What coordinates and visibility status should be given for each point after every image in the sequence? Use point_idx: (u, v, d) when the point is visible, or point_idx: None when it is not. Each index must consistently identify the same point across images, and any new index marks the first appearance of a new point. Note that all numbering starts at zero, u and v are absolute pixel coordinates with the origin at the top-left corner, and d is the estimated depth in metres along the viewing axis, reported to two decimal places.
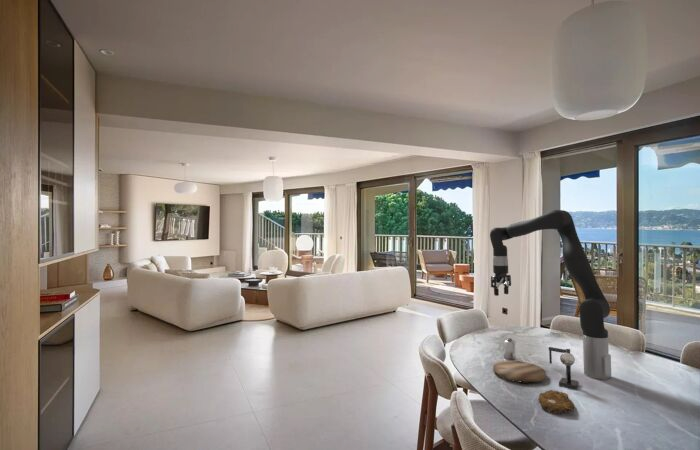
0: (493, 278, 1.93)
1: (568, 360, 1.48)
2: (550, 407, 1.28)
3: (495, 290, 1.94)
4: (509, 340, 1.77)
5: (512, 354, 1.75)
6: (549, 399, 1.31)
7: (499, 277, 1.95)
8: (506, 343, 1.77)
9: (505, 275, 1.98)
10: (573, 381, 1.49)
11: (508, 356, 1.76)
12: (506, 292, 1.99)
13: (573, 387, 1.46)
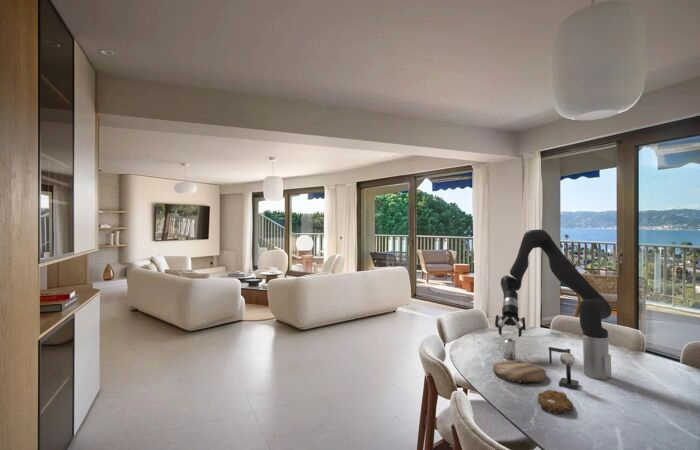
0: None
1: (568, 360, 1.48)
2: (549, 407, 1.28)
3: None
4: (509, 340, 1.77)
5: (512, 354, 1.75)
6: (548, 399, 1.31)
7: (504, 317, 1.91)
8: (506, 343, 1.77)
9: (515, 316, 1.89)
10: (573, 381, 1.49)
11: (508, 356, 1.76)
12: (518, 334, 1.83)
13: (573, 387, 1.46)
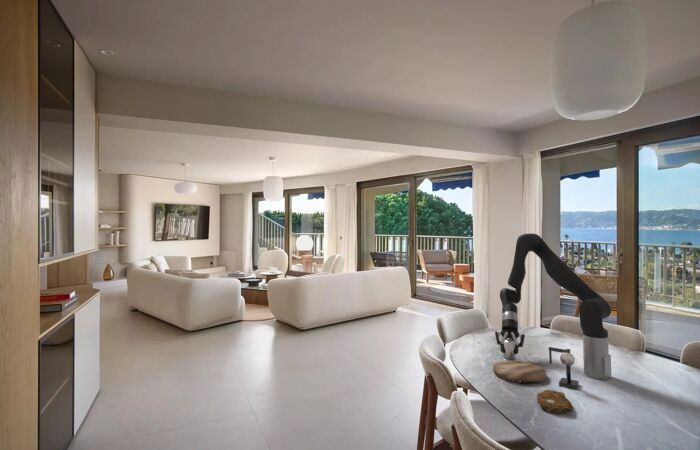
0: (495, 334, 1.85)
1: (568, 360, 1.48)
2: (549, 407, 1.28)
3: None
4: (509, 340, 1.77)
5: (512, 354, 1.75)
6: (548, 399, 1.31)
7: (503, 332, 1.83)
8: (506, 343, 1.77)
9: (515, 331, 1.82)
10: (573, 381, 1.49)
11: (508, 356, 1.76)
12: (515, 351, 1.76)
13: (573, 387, 1.46)
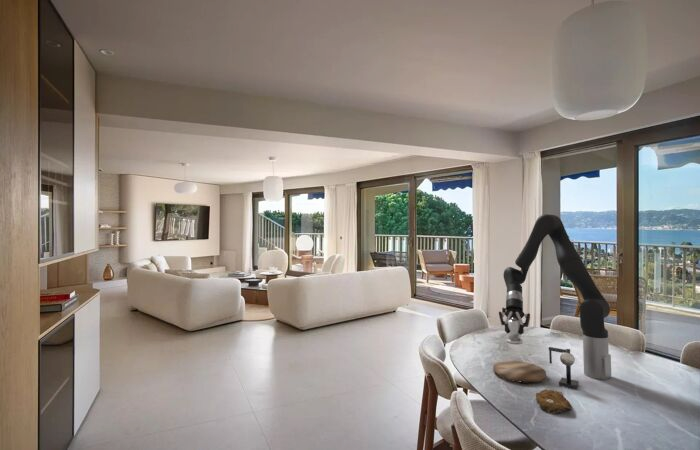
0: (499, 314, 1.76)
1: (568, 360, 1.48)
2: (549, 407, 1.28)
3: (505, 326, 1.71)
4: (513, 319, 1.68)
5: (517, 334, 1.66)
6: (547, 399, 1.31)
7: (507, 312, 1.74)
8: (510, 323, 1.68)
9: (520, 311, 1.73)
10: (573, 381, 1.49)
11: (513, 336, 1.67)
12: (520, 331, 1.67)
13: (573, 387, 1.46)
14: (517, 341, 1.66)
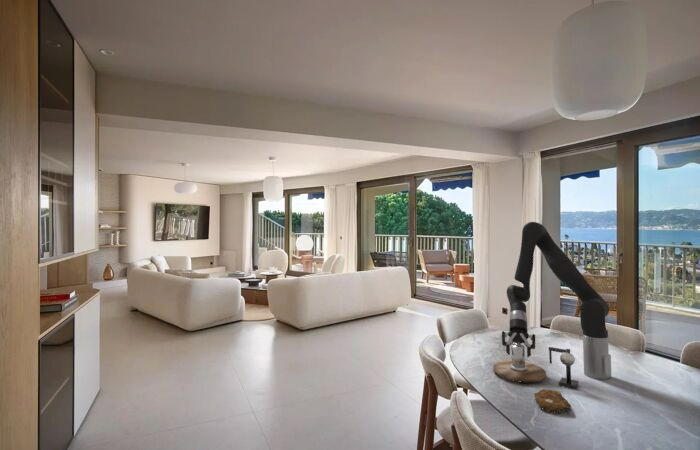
0: (502, 334, 1.69)
1: (568, 360, 1.48)
2: (548, 407, 1.28)
3: (506, 347, 1.64)
4: (518, 345, 1.61)
5: (521, 360, 1.59)
6: (546, 399, 1.32)
7: (511, 333, 1.67)
8: (514, 348, 1.60)
9: (524, 332, 1.65)
10: (573, 381, 1.49)
11: (517, 363, 1.59)
12: (527, 353, 1.59)
13: (573, 387, 1.46)
14: (521, 368, 1.59)
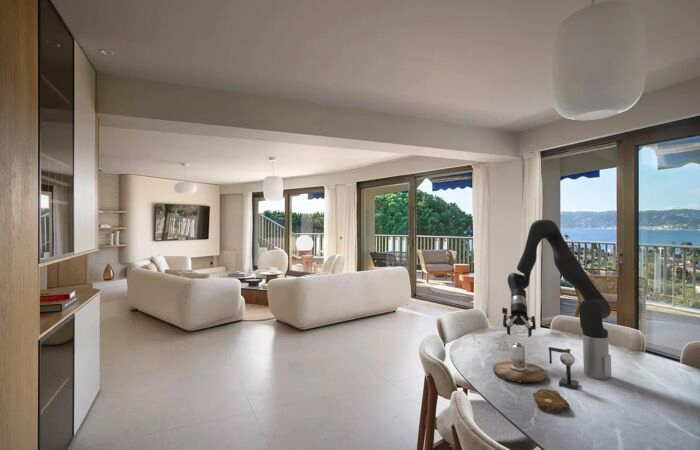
0: None
1: (568, 360, 1.48)
2: (548, 406, 1.28)
3: (507, 329, 1.77)
4: (518, 345, 1.61)
5: (521, 360, 1.59)
6: (545, 398, 1.32)
7: (512, 316, 1.80)
8: (515, 348, 1.60)
9: (524, 315, 1.78)
10: (573, 381, 1.49)
11: (517, 363, 1.59)
12: (528, 333, 1.72)
13: (573, 387, 1.46)
14: (521, 368, 1.59)
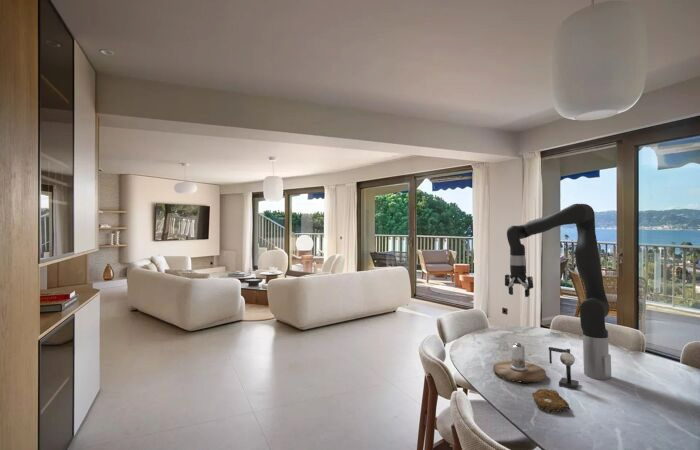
0: None
1: (568, 360, 1.48)
2: (548, 406, 1.28)
3: None
4: (518, 345, 1.61)
5: (521, 360, 1.59)
6: (544, 398, 1.32)
7: (512, 276, 1.91)
8: (515, 348, 1.60)
9: (521, 276, 1.87)
10: (573, 381, 1.49)
11: (517, 363, 1.59)
12: None
13: (573, 387, 1.46)
14: (521, 368, 1.59)
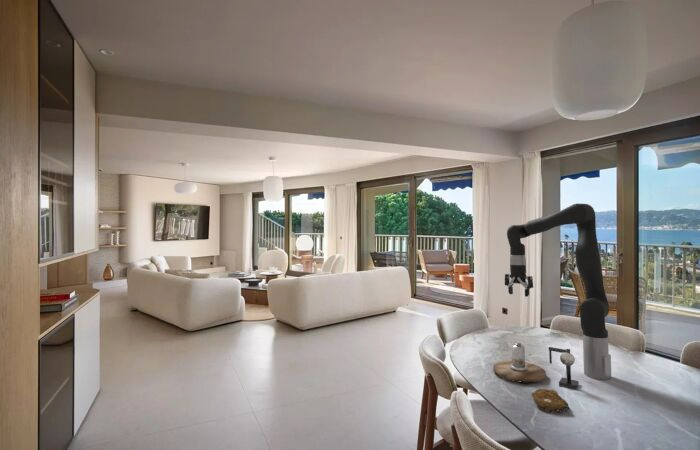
0: None
1: (568, 360, 1.48)
2: (548, 406, 1.28)
3: None
4: (518, 345, 1.61)
5: (521, 360, 1.59)
6: (544, 398, 1.32)
7: (512, 276, 1.91)
8: (515, 348, 1.60)
9: (521, 275, 1.87)
10: (573, 381, 1.49)
11: (517, 363, 1.59)
12: None
13: (573, 387, 1.46)
14: (521, 368, 1.59)
